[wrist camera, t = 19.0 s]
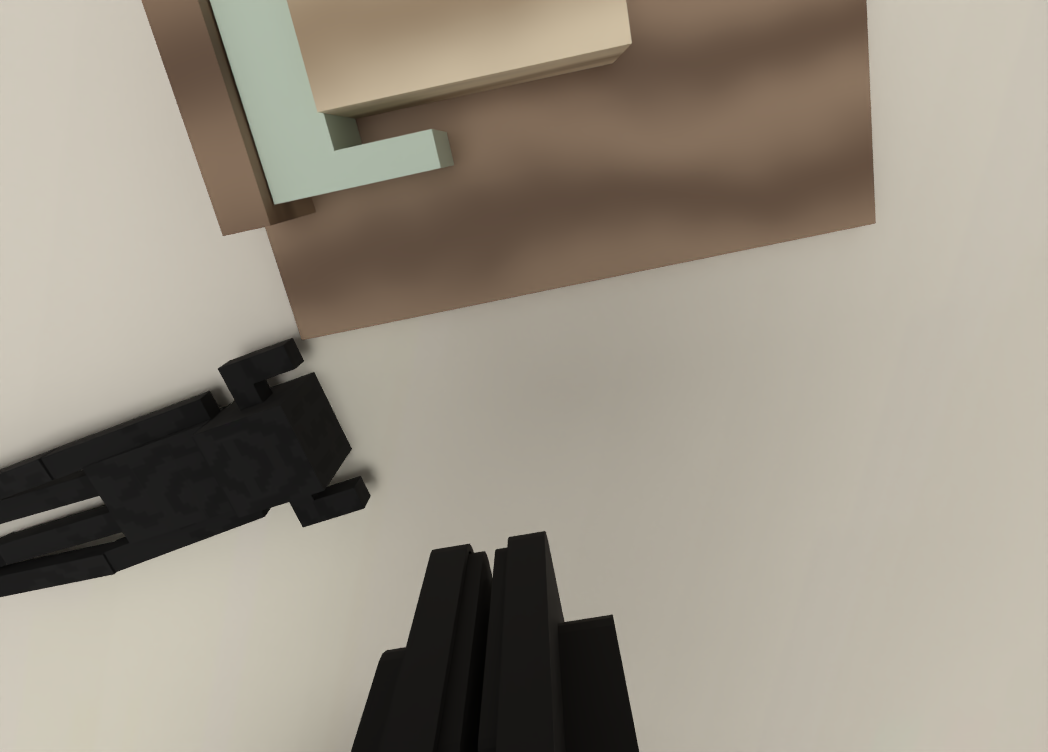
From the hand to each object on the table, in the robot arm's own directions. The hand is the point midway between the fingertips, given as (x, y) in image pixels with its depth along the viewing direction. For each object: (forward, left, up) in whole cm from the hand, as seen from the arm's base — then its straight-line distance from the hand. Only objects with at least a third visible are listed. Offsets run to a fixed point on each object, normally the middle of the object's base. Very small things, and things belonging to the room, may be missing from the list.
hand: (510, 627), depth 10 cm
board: (+10, -3, -26) cm, 28 cm away
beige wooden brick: (+12, 0, -25) cm, 28 cm away
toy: (-7, +26, -26) cm, 38 cm away
